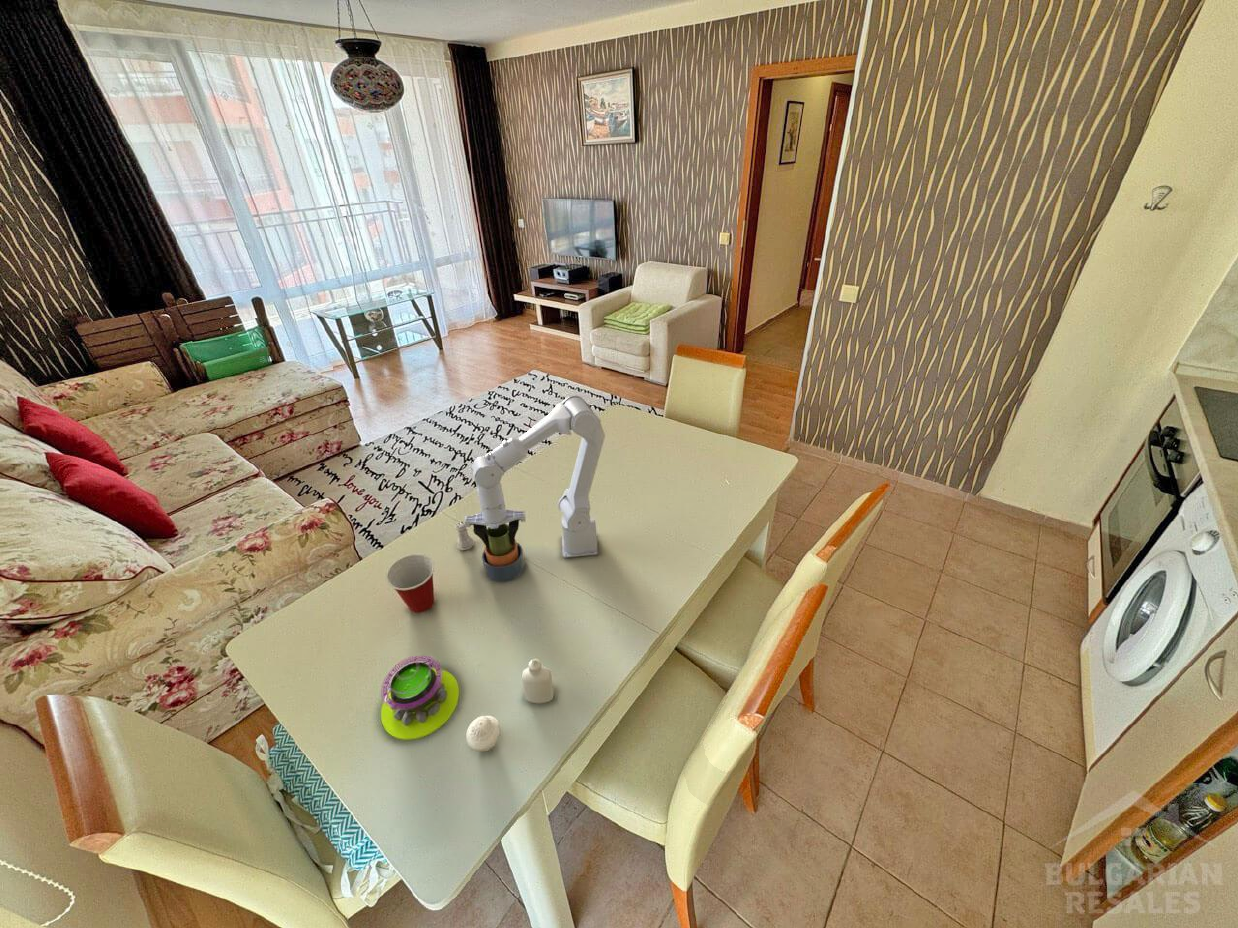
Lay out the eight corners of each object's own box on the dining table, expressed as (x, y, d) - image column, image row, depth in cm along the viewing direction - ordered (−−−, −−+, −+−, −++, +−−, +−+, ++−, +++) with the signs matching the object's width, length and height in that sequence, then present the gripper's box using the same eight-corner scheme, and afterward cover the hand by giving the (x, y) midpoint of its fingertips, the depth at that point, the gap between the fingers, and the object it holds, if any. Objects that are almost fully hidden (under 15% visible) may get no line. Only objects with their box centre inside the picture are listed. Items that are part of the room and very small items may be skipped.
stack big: (525, 551, 135) (523, 538, 132) (524, 579, 126) (521, 565, 123) (487, 555, 134) (484, 541, 131) (483, 583, 125) (479, 569, 122)
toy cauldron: (428, 656, 107) (416, 624, 101) (474, 692, 100) (464, 659, 94) (365, 711, 97) (347, 678, 91) (411, 755, 90) (396, 723, 84)
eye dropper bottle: (535, 681, 102) (528, 645, 95) (557, 692, 100) (552, 656, 93) (522, 698, 99) (514, 662, 92) (545, 711, 97) (538, 675, 90)
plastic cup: (401, 629, 114) (387, 593, 107) (396, 597, 122) (382, 562, 115) (448, 611, 118) (438, 576, 111) (440, 581, 126) (430, 547, 119)
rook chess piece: (469, 552, 135) (464, 530, 130) (454, 550, 136) (449, 528, 131) (476, 541, 138) (471, 519, 134) (462, 539, 139) (456, 517, 135)
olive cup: (513, 539, 129) (510, 521, 125) (512, 554, 124) (509, 536, 121) (491, 541, 128) (487, 523, 125) (489, 556, 123) (485, 539, 120)
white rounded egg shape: (462, 752, 90) (455, 732, 86) (481, 721, 95) (475, 701, 91) (491, 764, 88) (485, 744, 84) (509, 732, 93) (504, 712, 89)
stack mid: (521, 554, 134) (517, 534, 130) (520, 576, 127) (516, 555, 123) (490, 557, 133) (486, 537, 129) (488, 579, 126) (483, 558, 122)
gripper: (459, 515, 114) (469, 557, 121) (521, 509, 115) (528, 551, 123) (463, 497, 120) (473, 538, 127) (522, 491, 121) (529, 533, 129)
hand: (500, 543), depth 125 cm, fingers closed on olive cup, 6 cm apart
